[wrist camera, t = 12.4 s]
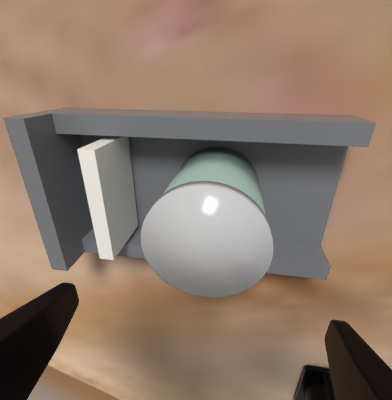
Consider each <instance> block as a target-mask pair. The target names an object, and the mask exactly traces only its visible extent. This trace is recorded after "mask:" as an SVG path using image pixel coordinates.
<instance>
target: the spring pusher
mask: <svg viewBox="0 0 392 400" xmlns="http://www.w3.org/2000/svg"><path fill="white" fill-rule="evenodd" d="M77 151H78V156H79V161H80V166H81V171H82V175H83V180H84V185H85V190H86V195H87V199H88V204H89V209H90V214H91V219H92V224H93V228H94V233H95V238H96V243H97V248H98V252H99V257H100V259H108V260H114V259H115V258H116V256H117V255H118V253H119V252H120V251H121V249H122V248H123V246H124V245H125V244H126V242H127V241H128V239H129V238H130V236H131V235H132V234H133V232H134V231H135V229H136V228H137V227H138V219H137V210H136V201H135V192H134V183H133V174H132V165H131V156H130V148H129V139H128V137H124V136H107V137H105V138H102V139H100V140H98V141H95V142H93V143H91V144H88V145H86V146H84V147H81V148H79V149H77Z"/></svg>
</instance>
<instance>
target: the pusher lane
mask: <svg viewBox="0 0 392 400" xmlns="http://www.w3.org/2000/svg"><path fill="white" fill-rule="evenodd" d="M4 121H5V124H6V128H7V131H8V134H9V137H10V140H11V143H12V146H13V149H14V152H15V156H16V159H17V162H18V165H19V168H20V171H21V174H22V177H23V180H24V184H25V187H26V190H27V193H28V196H29V199H30V202H31V205H32V208H33V212H34V215H35V218H36V221H37V224H38V227H39V230H40V233H41V236H42V239H43V243H44V246H45V249H46V252H47V255H48V258H49V261H50V264H51V267H52V269H56V270H64V271H68V270H69V268H70V267H71V266H72V265H73V264H74V263H75V262H76V261H77V260H78V258H79V257H80V256H81V255H82V254H83V253H84V252H90V253H99V252H98V248H97V243H96V238H95V233H94V228H93V224H92V219H91V214H90V209H89V204H88V199H87V195H86V190H85V185H84V180H83V175H82V171H81V166H80V161H79V156H78V151H77V149H79V148H81V147H84V146H86V145H88V144H91V143H93V142H95V141H98V140H100V139H102V138H105V137H107V136H124V137H128V139H129V148H130V156H131V165H132V174H133V183H134V192H135V201H136V210H137V219H138V227H137V228H136V229H135V231H134V232H133V234H132V235H131V236H130V238H129V239H128V241H127V242H126V244H125V245H124V246H123V248H122V249H121V251H120V252H119V253H118V255H117V256H125V257H133V258H142V259H146V258H145V256H144V253H143V250H142V246H141V228H142V225H143V222H144V219H145V217H146V215H147V214H148V212H149V211H150V209H151V208H152V206H153V205H154V204H155V202H156V201H157V200H158V199H159V198H160V197H161V196H162V195H163V193H164V192H165V190H166V189H167V187H168V186H169V184H170V183H171V181H172V179H173V178H174V176H175V175H176V173H177V172H178V170H179V169H180V167H181V166H182V164H183V163H184V161H185V160H186V159H187V158H188V157H189V156H191V155H192V154H194V153H195V152H197V151H199V150H201V149H205V148H209V147H225V148H229V149H232V150H235V151H237V152H239V153H240V154H242V155H243V156H245V157H246V158H247V159H248V160H249V161H250V162H251V163H252V165H253V166H254V168H255V170H256V172H257V175H258V178H259V183H260V188H261V193H262V199H263V204H264V209H265V215H266V217H267V220H268V222H269V225H270V229H271V234H272V239H273V257H272V261H271V264H270V266H269V268H268V270H267V272H266V273H271V274H279V275H288V276H296V277H305V278H314V279H322V280H327V276H328V273H329V270H330V267H331V266H330V264H329V262H328V260H327V258H326V255H325V253H324V251H323V249H322V247H321V241H322V238H323V234H324V230H325V227H326V223H327V220H328V216H329V212H330V209H331V205H332V202H333V198H334V195H335V191H336V187H337V184H338V180H339V177H340V173H341V169H342V166H343V162H344V159H345V155H346V151H347V148H348V146H357V147H368V146H369V143H370V140H371V137H372V133H373V130H374V127H375V124H376V123H373V122H370V121H367V120H364V119H361V118H358V117H355V116H340V115H302V114H264V113H227V112H189V111H151V110H113V109H76V108H61V109H55V110H49V111H43V112H37V113H31V114H25V115H19V116H12V117H6V118H4Z"/></svg>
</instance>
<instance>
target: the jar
mask: <svg viewBox="0 0 392 400" xmlns="http://www.w3.org/2000/svg"><path fill="white" fill-rule="evenodd" d="M141 246H142V250H143V253H144V256H145V258H146V260H147V262H148V264H149V265H150V267H151V268H152V269H153V271H154V272H155V273H156V274H157V275H158V276H159V277H160V278H161V279H162V280H164V281H165V282H166V283H168V284H169V285H171V286H173V287H174V288H176V289H178V290H180V291H183V292H185V293H188V294H192V295H196V296H201V297H226V296H231V295H235V294H238V293H241V292H243V291H245V290H247V289H249V288H250V287H252V286H253V285H255V284H256V283H257V282H258V281H259V280H260V279H261V278H262V277H263V276H264V275H265V273H266V272H267V270H268V268H269V266H270V264H271V261H272V257H273V239H272V234H271V229H270V225H269V222H268V220H267V217H266V215H265V209H264V204H263V199H262V193H261V188H260V183H259V178H258V175H257V172H256V170H255V168H254V166H253V165H252V163H251V162H250V161H249V160H248V159H247V158H246V157H245V156H243V155H242V154H240V153H239V152H237V151H235V150H232V149H229V148H225V147H209V148H205V149H201V150H199V151H197V152H195V153H194V154H192V155H191V156H189V157H188V158H187V159H186V160H185V161H184V163H183V164H182V166H181V167H180V169H179V170H178V172H177V173H176V175H175V176H174V178H173V179H172V181H171V183H170V184H169V186H168V187H167V189H166V190H165V192H164V193H163V195H162V196H161V197H160V198H159V199H158V200H157V201H156V202H155V204H154V205H153V206H152V208H151V209H150V211H149V212H148V214H147V215H146V217H145V219H144V222H143V225H142V228H141Z"/></svg>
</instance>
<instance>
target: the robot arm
mask: <svg viewBox="0 0 392 400" xmlns="http://www.w3.org/2000/svg"><path fill="white" fill-rule="evenodd" d="M78 303H79V298H78V295H77V291H76V288H75V285H74V284H71V283H61V284H59V285H58V286H56V287H54V288H52V289H51V290H49V291H47V292H45V293H44V294H42V295H40V296H39V297H37V298H35V299H33V300H32V301H30V302H28V303H27V304H25V305H23V306H21V307H20V308H18V309H16V310H14V311H13V312H11V313H9V314H8V315H6V316H4V317H2V318H1V319H0V400H27V398H28V397H29V395H30V393H31V392H32V390H33V388H34V386H35V385H36V383H37V382H38V380H39V378H40V376H41V375H42V373H43V371H44V370H45V368H46V366H47V365H48V363H49V361H50V360H51V358H52V356H53V355H54V353H55V351H56V349H57V348H58V346H59V344H60V342H61V340H62V338H63V336H64V334H65V331H66V329H67V327H68V325H69V323H70V321H71V319H72V317H73V315H74V313H75V311H76V308H77V306H78ZM325 346H326V351H327V357H328V362H329V368H330V369H326V368H320V367H314V366H306V367H304V370H303V373H302V376H301V379H300V382H299V385H298V388H297V391H296V394H295V397H294V399H295V400H392V370H391V369H390V367H389V366H388V365H387V364H386V363H385V362H384V361H383V360H382V359H381V358H380V357H379V356H378V355H377V354H376V353H375V352H374V351H373V349H372V348H371V347H370V346H369V345H368V344H367V343H366V342H365V341H364V340H363V339H362V338H361V337H360V336H359V335H358V334H357V333H356V331H355V330H354V329H353V328H352V327H351V326H350V325H349V324H348V323H347V322H345V321H340V320H331V321H330V324H329V327H328V329H327V332H326V335H325Z"/></svg>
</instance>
